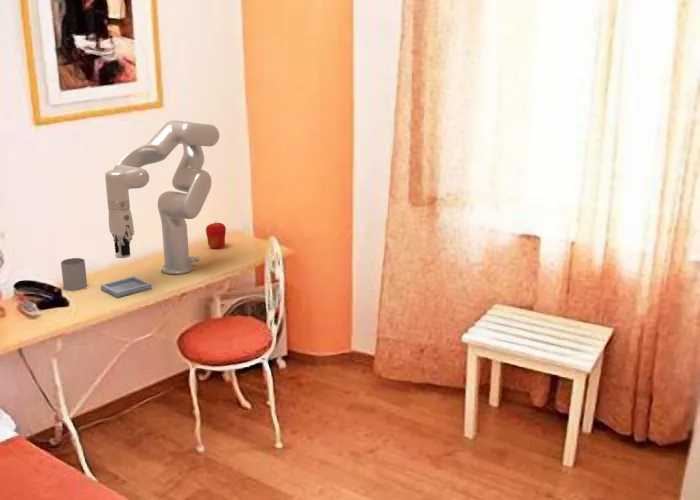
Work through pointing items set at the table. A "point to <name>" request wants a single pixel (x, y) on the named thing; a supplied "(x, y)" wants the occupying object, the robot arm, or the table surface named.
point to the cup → (74, 274)
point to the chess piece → (119, 254)
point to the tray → (126, 287)
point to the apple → (216, 235)
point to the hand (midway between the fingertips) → (122, 253)
